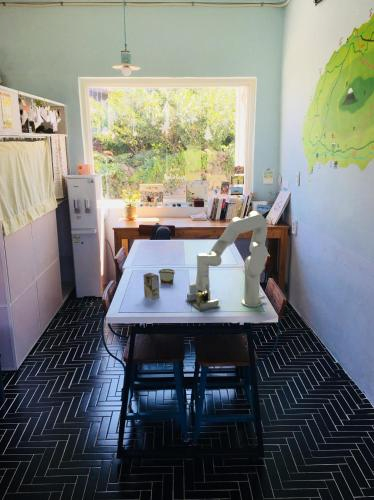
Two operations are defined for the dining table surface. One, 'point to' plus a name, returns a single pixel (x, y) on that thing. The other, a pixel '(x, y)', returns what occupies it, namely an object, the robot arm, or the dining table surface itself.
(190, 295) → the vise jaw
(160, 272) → the food container
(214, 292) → the dining table surface
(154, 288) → the coffee box
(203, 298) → the block
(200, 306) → the panel
